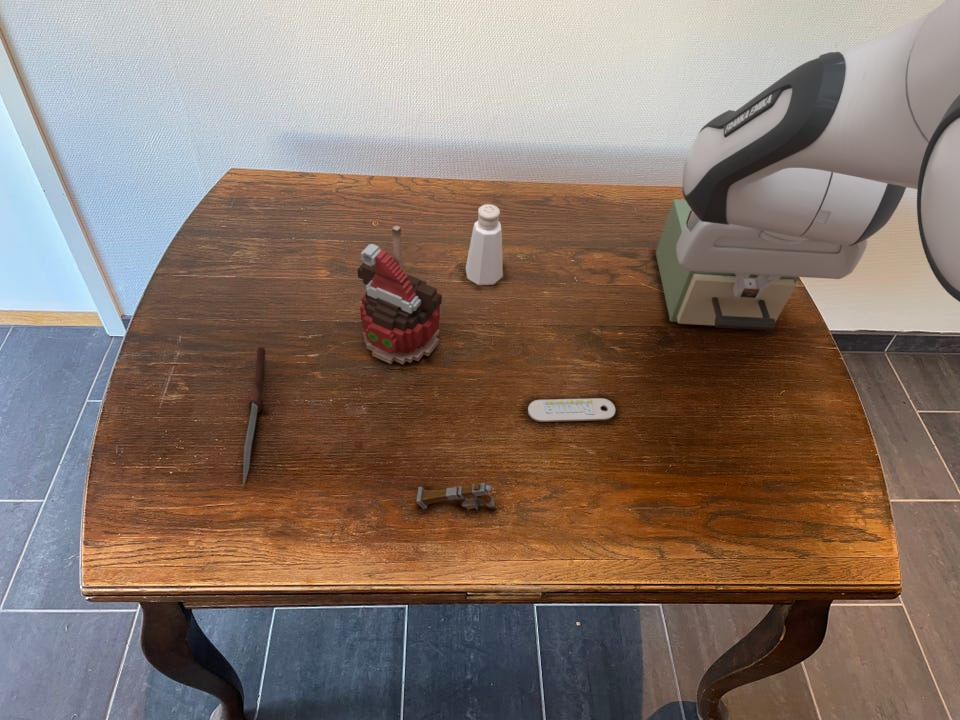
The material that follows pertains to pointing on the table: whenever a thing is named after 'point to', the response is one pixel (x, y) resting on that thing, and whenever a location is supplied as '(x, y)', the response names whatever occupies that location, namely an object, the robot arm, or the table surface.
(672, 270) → the cabinet
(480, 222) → the salt shaker
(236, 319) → the table surface
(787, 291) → the drawer
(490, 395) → the table surface
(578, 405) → the keychain
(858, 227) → the robot arm
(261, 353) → the knife
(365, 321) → the christmas cupcake
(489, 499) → the wooden post with brackets
